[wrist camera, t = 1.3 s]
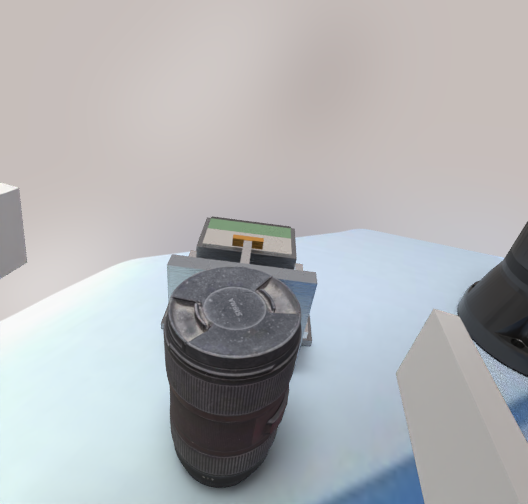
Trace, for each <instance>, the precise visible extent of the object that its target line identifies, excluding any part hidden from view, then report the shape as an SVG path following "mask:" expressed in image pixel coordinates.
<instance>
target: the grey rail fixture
mask: <svg viewBox="0 0 528 504" xmlns="http://www.w3.org/2000/svg"><path fill="white" fill-rule="evenodd" d="M263 242H264V238H258V237H250V236H243V235H235V234H234V235H233V241H232V246H238V247H243V249H242V255H241V261H240V263H237V262H229V261H221V260H212V259H204V258H196V251H193V250H191V251H190V254H189V256H180V255H172V256H171V258H170V260H169V262H168V264H167V277H168V303H169V300H170V297H171V295H172V293H173V291H174V290H175V289H176V287H177V286H178V285H180V284H181V283H182V282H183V281H184V280H186V279H187V278H189V277H191V276H192V275H194V274H196V273H198V272H201V271H204V270H207V269H211V268H217V267H225V266H236V267H248V268H253V269H257V270H260V271H263V272H266V273H268V274H270V275H272V276H273V277H275V278H277V279H279V280H280V281H282V282H283V283H285V284H286V285H287V286H288V287H289V288H290V289H291V291H292V292H293V293H294V294H295V296H296V298H297V300H298V302H299V303H300V307H301V329H302V337H301V342H302V339H303V338H306V339H307V335H308V323H307V320H308V316H309V313H310V309H311V305H312V301H313V298H314V294H315V290H316V287H317V278H316V272H309V271H303V264H297V263H295V268H294V270H293V269H285V268H277V267H269V266H261V265H253V264H249V262H250V255H251V248H253V249H261V250H262V249H263ZM167 312H168V311H167ZM166 315H167V313H166ZM301 342H300V346H301ZM300 346H299V350H300ZM299 350H298V353H299ZM297 357H298V354H297ZM296 361H297V359H296ZM295 365H296V362H295ZM294 367H295V366H294Z"/></svg>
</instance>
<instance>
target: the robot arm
mask: <svg viewBox="0 0 528 504" xmlns="http://www.w3.org/2000/svg"><path fill="white" fill-rule="evenodd" d="M20 202H21V201H20V193H19V188H18V187H14V186H11V185H7V184H4V183H1V182H0V279H1V278H3V277H4V276H6V275H8V274H9V273H11V272H12V271H14V270H16V269H17V268H19V267H21V266H22V265H24V264H25V263H27V257H26V247H25V239H24V229H23V221H22V211H21V203H20ZM458 314H459V316H457V315H453V314H450V313H447V312H443V311H440V310H436V309H433V311H432V313H431V314H430V316H429V318H428V319H427V321H426V323H425V324H424V326H423V328H422V330H421V331H420V333H419V335H418V336H417V338H416V340H415V342H414V343H413V345H412V347H411V348H410V350H409V352H408V353H407V355H406V357H405V359H404V360H403V362H402V364H401V365H400V367H399V369H398V370H397V372H396V376H397V381H398V385H399V390H400V394H401V399H402V403H403V408H404V412H405V417H406V421H407V426H408V430H409V435H410V440H411V444H412V449H413V453H414V458H415V462H416V467H417V471H418V476H419V480H420V485H421V489H422V494H423V498H424V503H425V504H528V443H527V441H526V439H525V437H524V436H523V434H522V432H521V430H520V428H519V426H518V424H517V423H516V421H515V419H514V417H513V415H512V413H511V411H510V410H509V408H508V406H507V404H506V402H505V400H504V398H503V397H502V395H501V393H500V391H499V389H498V387H497V385H496V384H495V382H494V380H493V378H492V376H491V374H490V372H489V371H488V369H487V367H486V365H485V363H484V361H483V359H482V358H481V356H480V354H479V352H478V350H477V348H476V346H475V345H474V343H473V341H472V339H471V337H472V338H473V339H474V340H475V341H476V342H477V343H478V344H479V345H480V346H481V347H482V348H484V349H485V350H486V351H487V352H488V353H490V354H491V355H492V356H494V357H495V358H497V359H498V360H499V361H501V362H503V363H504V364H506V365H508V366H509V367H511V368H513V369H515V370H517V371H519V372H521V373H523V374H525V375H527V376H528V222H527V224H526V225H525V227H524V228H523V230H522V231H521V233H520V235H519V236H518V238H517V239H516V241H515V242H514V244H513V246H512V247H511V249H510V251H509V252H508V254H507V255H506V257H505V258H504V260H503V261H502V262H501V263H500V264H498V265H497V266H496V267H495V268H493V269H492V270H491V271H490V272H489V273H488V274H486V275H485V276H484V277H483V279H482V280H481V281H478V282H476V283H474V284H473V285H471V286H470V287H469V288H468V289H467V290H466V292H465V294H464V295H463V297H462V299H461V300H460V302H459V305H458ZM469 334H470V335H469ZM470 336H471V337H470Z"/></svg>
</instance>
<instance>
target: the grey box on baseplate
mask: <svg viewBox="0 0 528 504" xmlns="http://www.w3.org/2000/svg"><path fill="white" fill-rule="evenodd" d="M234 234H235V235H243V236H250V237H258V238H264V242H263V249H262V250H261V249H253V248H251V255H250V262H249V264H253V265H261V266H269V267H277V268H285V269H293V270H294V268H295V263H296V244H295V229H292V228H291V227H289V226H281V225H273V224H265V223H258V222H249V221H242V220H235V219H227V218H219V217H211V218H207V219H206V222H205V225H204V228H203V230H202V233H201V236H200V238H199V241H198V244H197V250H196V258H204V259H212V260H221V261H229V262H237V263H240V261H241V255H242V249H243V247H238V246H232V241H233V235H234ZM167 311H168V307H167V309H166V312H165V314H164V317H163V319H162V322H161V329H164V322H165V318H166V313H167ZM307 323H308V335H307V339H306V338H303V339H302V342H301V345H304V346H311V343H312V337H311V326H310V316H308V320H307Z"/></svg>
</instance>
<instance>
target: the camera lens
mask: <svg viewBox="0 0 528 504" xmlns="http://www.w3.org/2000/svg"><path fill="white" fill-rule="evenodd" d="M301 337H302V329H301V307H300V303H299V302H298V300H297V298H296V296H295V294H294V293H293V292H292V291H291V289H290V288H289V287H288V286H287V285H286V284H285V283H283V282H282V281H280V280H279V279H277V278H275V277H273V276H272V275H270V274H268V273H266V272H263V271H260V270H257V269H253V268H248V267H236V266H225V267H217V268H211V269H207V270H204V271H201V272H198V273H196V274H194V275H192V276H191V277H189V278H187V279H186V280H184V281H183V282H182V283H181V284H180V285H178V286H177V287H176V289H175V290H174V291H173V293H172V295H171V297H170V300H169V303H168V312H167V315H166V318H165V322H164V345H165V363H166V371H167V377H168V381H169V384H170V424H171V434H172V438H173V441H174V446H175V450H176V453H177V455H178V458H179V460H180V461H181V463H182V464H183V466H184V467H185V469H186V470H187V471H188V473H189V474H190V475H191V476H192V477H193V478H194V479H195V480H197V481H198V482H200V483H202V484H204V485H207V486H211V487H216V488H222V487H229V486H233V485H236V484H238V483H240V482H241V481H243V480H244V479H246V478H247V477H248V476H249V475H250V474H251V473H253V472H254V471H255V470H256V469H257V468H258V467H259V466H260V465H261V464H262V462H263V461H264V459H265V457H266V455H267V453H268V451H269V449H270V447H271V445H272V443H273V441H274V439H275V435H276V432H277V428H278V425H279V424H280V422H281V420H282V417H283V414H284V411H285V408H286V405H287V400H288V394H289V382H290V380H291V377H292V374H293V370H294V366H295V362H296V359H297V354H298V350H299V346H300V342H301Z"/></svg>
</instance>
